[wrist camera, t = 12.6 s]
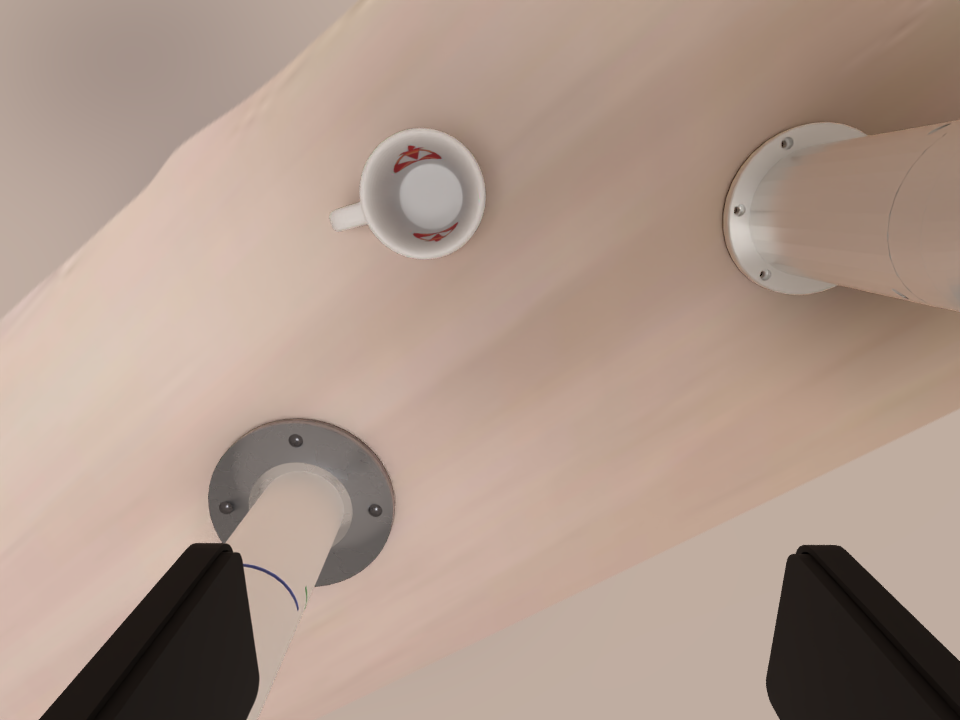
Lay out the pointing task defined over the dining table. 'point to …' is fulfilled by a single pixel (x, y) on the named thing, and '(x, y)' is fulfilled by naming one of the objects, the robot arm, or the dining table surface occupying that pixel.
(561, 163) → the dining table surface
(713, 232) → the dining table surface
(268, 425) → the flange plate
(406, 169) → the cup
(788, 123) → the dining table surface
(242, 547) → the cylindrical container
